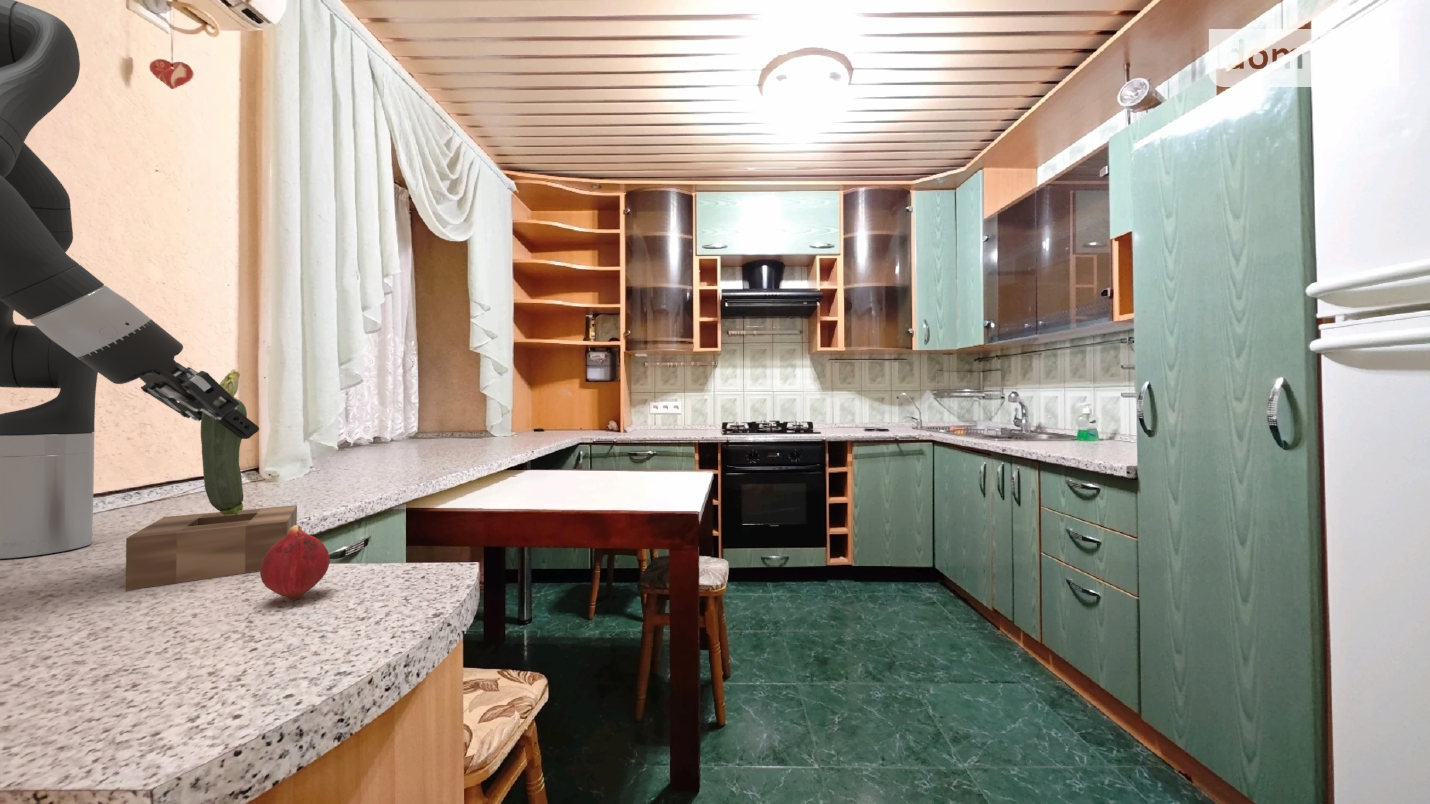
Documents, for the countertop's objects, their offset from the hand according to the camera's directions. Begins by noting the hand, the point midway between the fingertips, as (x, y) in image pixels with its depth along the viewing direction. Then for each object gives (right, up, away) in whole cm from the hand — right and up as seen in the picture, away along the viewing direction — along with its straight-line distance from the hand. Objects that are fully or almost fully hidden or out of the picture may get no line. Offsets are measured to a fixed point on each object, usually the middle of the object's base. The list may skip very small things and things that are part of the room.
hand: (242, 433), depth 68 cm
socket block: (-1, -17, -2) cm, 18 cm away
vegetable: (-1, -11, -2) cm, 11 cm away
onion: (+20, -17, -14) cm, 30 cm away
